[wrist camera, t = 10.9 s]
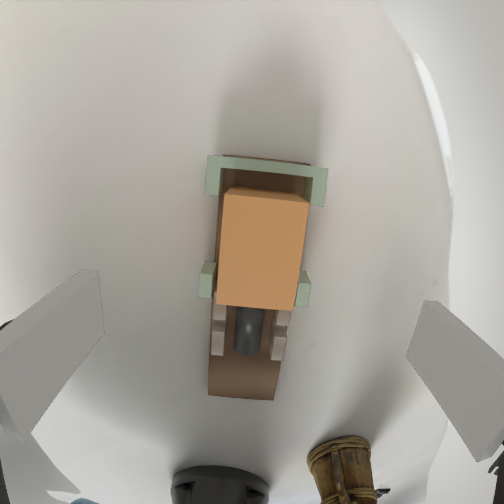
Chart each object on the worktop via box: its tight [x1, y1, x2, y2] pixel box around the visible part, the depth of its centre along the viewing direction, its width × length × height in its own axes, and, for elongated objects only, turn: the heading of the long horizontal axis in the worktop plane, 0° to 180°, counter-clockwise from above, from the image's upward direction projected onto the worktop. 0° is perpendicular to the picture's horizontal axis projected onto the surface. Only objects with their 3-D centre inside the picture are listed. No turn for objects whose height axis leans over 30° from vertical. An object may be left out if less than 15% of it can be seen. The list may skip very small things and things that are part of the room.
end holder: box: [198, 155, 328, 307], centre depth 24 cm, size 11×9×3 cm
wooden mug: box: [307, 436, 377, 504], centre depth 26 cm, size 9×14×18 cm, turn 22°
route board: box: [208, 155, 310, 400], centre depth 26 cm, size 24×7×4 cm, turn 174°
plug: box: [216, 186, 309, 355], centre depth 23 cm, size 14×5×7 cm, turn 174°
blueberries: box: [376, 485, 390, 499], centre depth 39 cm, size 7×8×2 cm
